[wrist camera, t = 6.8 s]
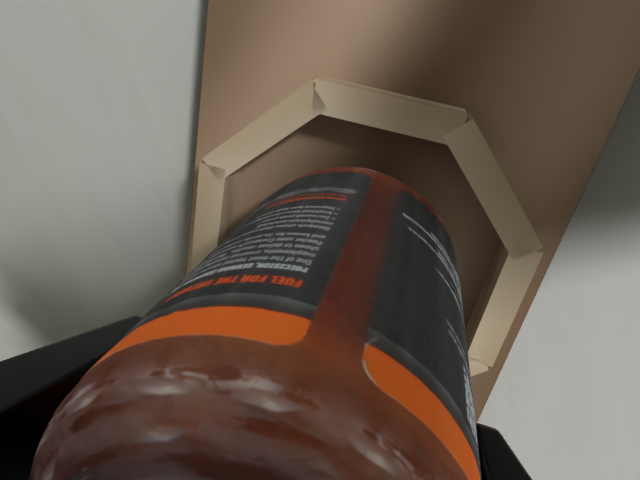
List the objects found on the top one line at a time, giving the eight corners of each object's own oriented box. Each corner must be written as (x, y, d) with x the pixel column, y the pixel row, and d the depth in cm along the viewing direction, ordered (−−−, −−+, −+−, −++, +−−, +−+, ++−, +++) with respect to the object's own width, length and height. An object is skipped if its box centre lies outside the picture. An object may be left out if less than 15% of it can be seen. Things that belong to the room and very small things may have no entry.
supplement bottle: (216, 247, 14) (-324, 743, 4) (356, 112, 12) (-141, 529, 2) (347, 378, 15) (163, 1067, 5) (504, 278, 13) (798, 1261, 2)
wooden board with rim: (662, -19, 11) (712, -33, 9) (445, 467, 18) (446, 518, 16) (232, -98, 12) (194, -125, 10) (187, 382, 19) (160, 420, 18)
